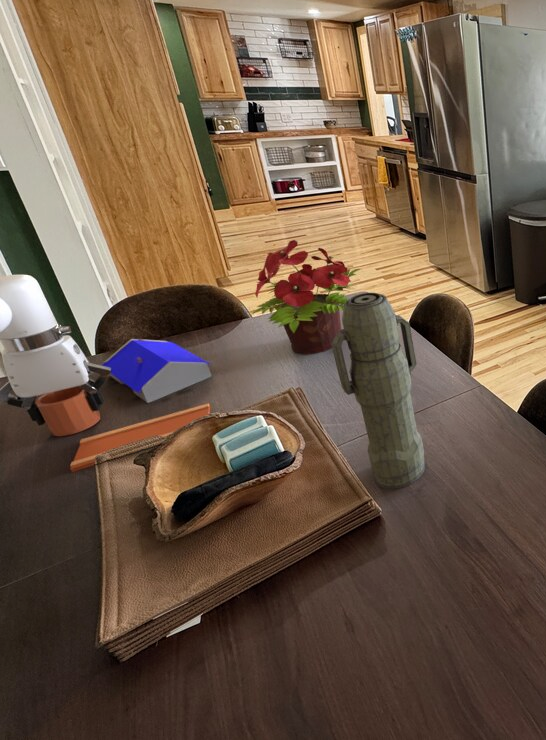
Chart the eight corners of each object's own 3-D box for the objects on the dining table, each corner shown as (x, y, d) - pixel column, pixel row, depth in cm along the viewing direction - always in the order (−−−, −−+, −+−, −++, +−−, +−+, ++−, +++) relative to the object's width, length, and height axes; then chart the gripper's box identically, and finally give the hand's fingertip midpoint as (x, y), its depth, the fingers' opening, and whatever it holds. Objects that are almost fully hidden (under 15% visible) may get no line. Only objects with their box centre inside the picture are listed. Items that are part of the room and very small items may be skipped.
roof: (105, 377, 115) (93, 350, 112) (175, 352, 126) (165, 327, 123) (143, 404, 105) (131, 376, 102) (215, 375, 116) (205, 349, 113)
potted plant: (274, 331, 137) (244, 231, 126) (375, 315, 147) (356, 222, 136) (250, 385, 112) (210, 266, 101) (374, 362, 122) (351, 252, 111)
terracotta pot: (46, 441, 94) (29, 409, 91) (56, 422, 99) (40, 392, 96) (97, 427, 98) (82, 397, 95) (104, 410, 103) (90, 380, 100)
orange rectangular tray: (71, 472, 87) (69, 467, 86) (84, 442, 94) (81, 437, 94) (209, 430, 97) (207, 425, 97) (210, 406, 105) (208, 402, 104)
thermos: (442, 463, 89) (415, 293, 76) (383, 503, 80) (341, 319, 67) (415, 443, 94) (385, 280, 80) (357, 478, 85) (312, 303, 72)
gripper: (99, 320, 98) (131, 391, 105) (-29, 343, 89) (14, 420, 95) (92, 333, 93) (125, 408, 99) (-46, 360, 83) (1, 441, 90)
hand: (71, 414), depth 97 cm, fingers closed on terracotta pot, 7 cm apart
